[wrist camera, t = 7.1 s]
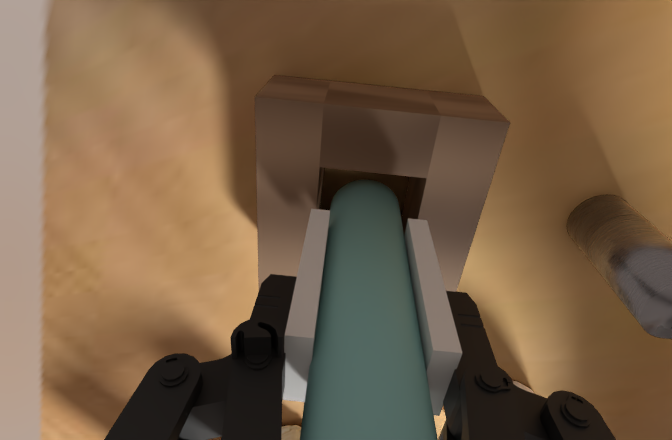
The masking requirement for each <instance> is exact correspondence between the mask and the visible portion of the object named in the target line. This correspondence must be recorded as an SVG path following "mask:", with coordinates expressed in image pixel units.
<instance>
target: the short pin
mask: <svg viewBox="0 0 672 440" xmlns="http://www.w3.org/2000/svg"><path fill="white" fill-rule="evenodd" d="M567 231H568V234H569V235H570V237H571V238H572V239H573V241H574V242H575V243H576V244H577V246H578V247H579V248H580V249H581V251H582V252H583V253H584V254H585V256H586V257H587V258H588V259H589V261H590V262H591V263H592V264H593V266H594V267H595V268H596V269H597V271H598V272H599V273H600V274H601V276H602V277H603V278H604V280H605V281H606V282H607V283H608V285H609V286H610V287H611V288H612V290H613V291H614V292H615V293H616V295H617V296H618V297H619V298H620V300H621V301H622V302H623V303H624V305H625V306H626V307H627V308H628V310H629V311H630V312H631V313H632V315H633V316H634V317H635V319H636V320H637V321H638V322H639V324H640V325H641V326H642V327H643V329H644V330H645V331H646V332H647V333H649V334H651V335H653V336H655V337H659V338H666V339H672V241H671V240H670V239H668V238H667V237H666V236H665V235H664V234H663V233H661V232H660V231H659V230H658V229H657V228H656V227H655V226H653V225H652V224H651V223H650V222H649V221H648V220H646V219H645V218H644V217H643V216H642V215H641V214H639V213H638V212H637V211H636V210H635V209H634V208H632V207H631V206H630V205H629V204H628V203H627V202H625V201H624V200H623V199H622V198H620V197H617V196H614V195H600V196H596V197H593V198H590V199H588V200H586V201H584V202H583V203H581V204H580V205H579V206H577V207H576V208H575V209H574V211H573V212H572V213H571V215H570V217H569V219H568V222H567Z"/></svg>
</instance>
